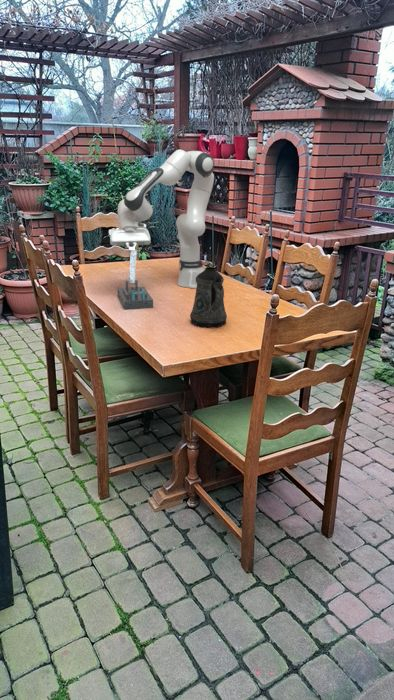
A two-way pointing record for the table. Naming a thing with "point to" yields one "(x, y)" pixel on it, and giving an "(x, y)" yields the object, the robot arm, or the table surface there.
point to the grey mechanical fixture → (134, 297)
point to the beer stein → (209, 300)
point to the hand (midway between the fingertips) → (132, 251)
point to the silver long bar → (132, 266)
